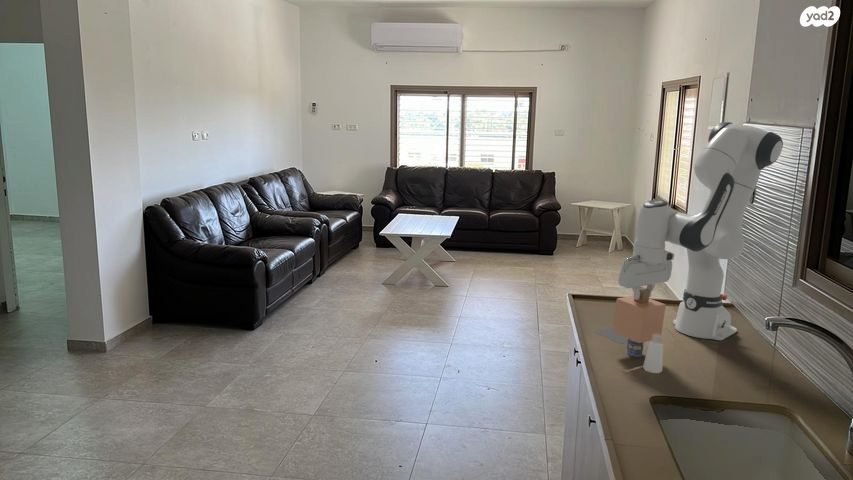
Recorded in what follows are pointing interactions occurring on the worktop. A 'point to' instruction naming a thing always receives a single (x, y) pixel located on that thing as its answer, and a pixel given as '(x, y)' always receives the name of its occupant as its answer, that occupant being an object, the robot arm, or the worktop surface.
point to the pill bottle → (634, 348)
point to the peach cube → (638, 317)
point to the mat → (612, 335)
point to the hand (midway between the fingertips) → (641, 298)
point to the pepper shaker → (654, 355)
